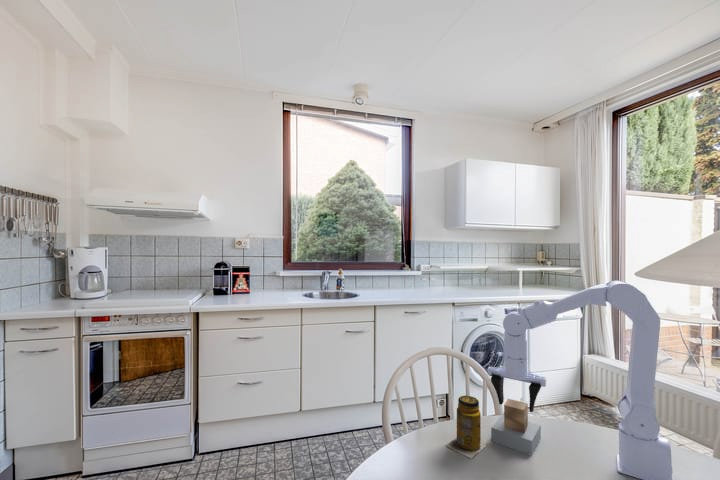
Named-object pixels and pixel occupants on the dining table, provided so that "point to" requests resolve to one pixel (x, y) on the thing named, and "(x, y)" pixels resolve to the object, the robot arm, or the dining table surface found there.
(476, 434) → the condiment
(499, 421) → the slate box
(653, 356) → the robot arm
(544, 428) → the dining table surface
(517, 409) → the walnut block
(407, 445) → the dining table surface
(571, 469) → the dining table surface
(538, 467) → the dining table surface
